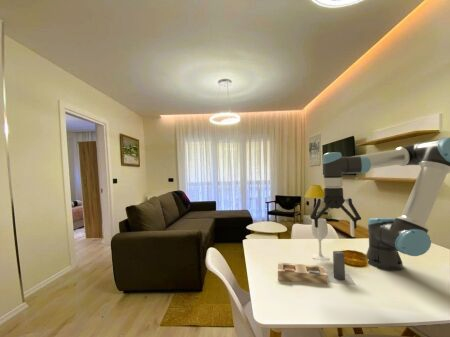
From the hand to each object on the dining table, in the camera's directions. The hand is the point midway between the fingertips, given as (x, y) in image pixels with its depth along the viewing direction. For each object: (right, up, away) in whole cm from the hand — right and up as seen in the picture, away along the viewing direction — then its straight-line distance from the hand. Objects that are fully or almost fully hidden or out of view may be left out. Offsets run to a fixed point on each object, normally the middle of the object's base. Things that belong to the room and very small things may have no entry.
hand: (335, 235), depth 97 cm
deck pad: (+1, -19, -1) cm, 19 cm away
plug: (+1, -18, -1) cm, 18 cm away
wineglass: (+3, -19, +22) cm, 30 cm away
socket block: (-15, -19, +1) cm, 24 cm away
